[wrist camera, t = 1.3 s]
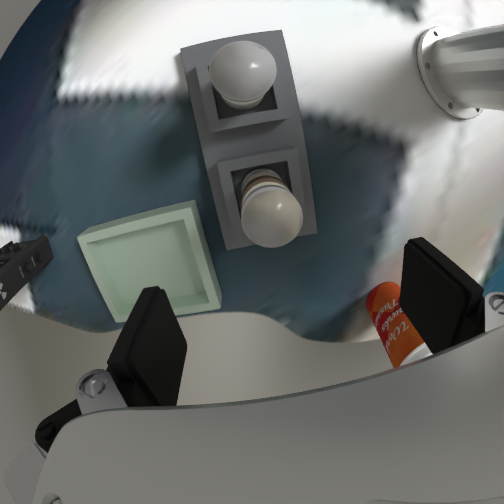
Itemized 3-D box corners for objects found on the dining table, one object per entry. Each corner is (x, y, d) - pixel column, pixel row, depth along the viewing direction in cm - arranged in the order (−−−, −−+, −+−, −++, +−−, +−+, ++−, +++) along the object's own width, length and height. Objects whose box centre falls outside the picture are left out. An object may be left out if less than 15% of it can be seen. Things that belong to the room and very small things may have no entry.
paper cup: (393, 263, 33) (451, 331, 20) (414, 296, 36) (464, 361, 23) (348, 301, 35) (388, 381, 23) (373, 329, 38) (411, 401, 25)
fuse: (259, 67, 22) (269, 36, 13) (267, 106, 24) (282, 94, 15) (217, 75, 23) (203, 48, 14) (225, 114, 24) (216, 106, 15)
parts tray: (195, 199, 29) (190, 207, 26) (222, 294, 34) (220, 308, 31) (88, 227, 30) (76, 237, 27) (123, 309, 35) (116, 322, 32)
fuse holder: (280, 32, 21) (285, 21, 18) (315, 229, 31) (323, 242, 28) (182, 51, 22) (174, 42, 19) (226, 246, 31) (225, 261, 28)
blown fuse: (278, 164, 27) (298, 183, 18) (285, 203, 28) (306, 241, 19) (237, 171, 27) (235, 195, 18) (245, 210, 29) (247, 252, 20)
